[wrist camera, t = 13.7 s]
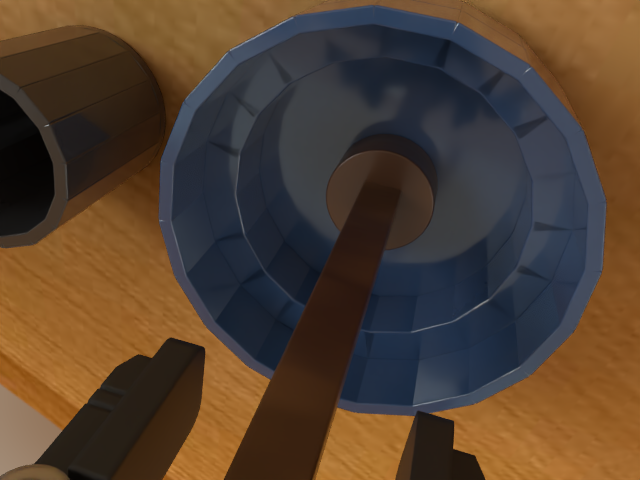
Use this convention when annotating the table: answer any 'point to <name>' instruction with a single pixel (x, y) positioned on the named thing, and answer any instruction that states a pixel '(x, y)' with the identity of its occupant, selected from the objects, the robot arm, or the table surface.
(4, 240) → the crock
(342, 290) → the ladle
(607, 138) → the table surface
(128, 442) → the robot arm
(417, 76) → the mixing bowl
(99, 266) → the table surface
